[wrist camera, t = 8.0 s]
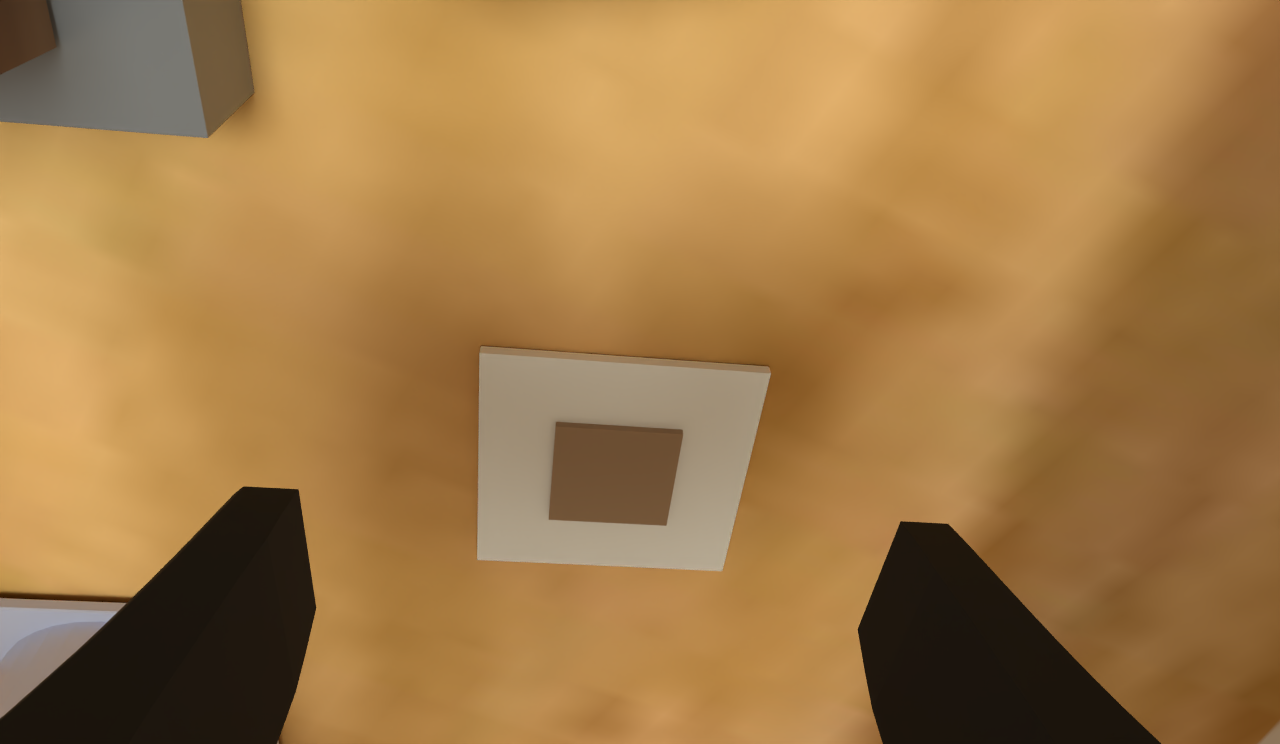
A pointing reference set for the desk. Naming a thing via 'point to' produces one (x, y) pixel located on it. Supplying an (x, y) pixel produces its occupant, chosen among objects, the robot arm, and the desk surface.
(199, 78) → the slate slab
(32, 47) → the walnut block
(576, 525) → the placard
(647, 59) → the desk surface
